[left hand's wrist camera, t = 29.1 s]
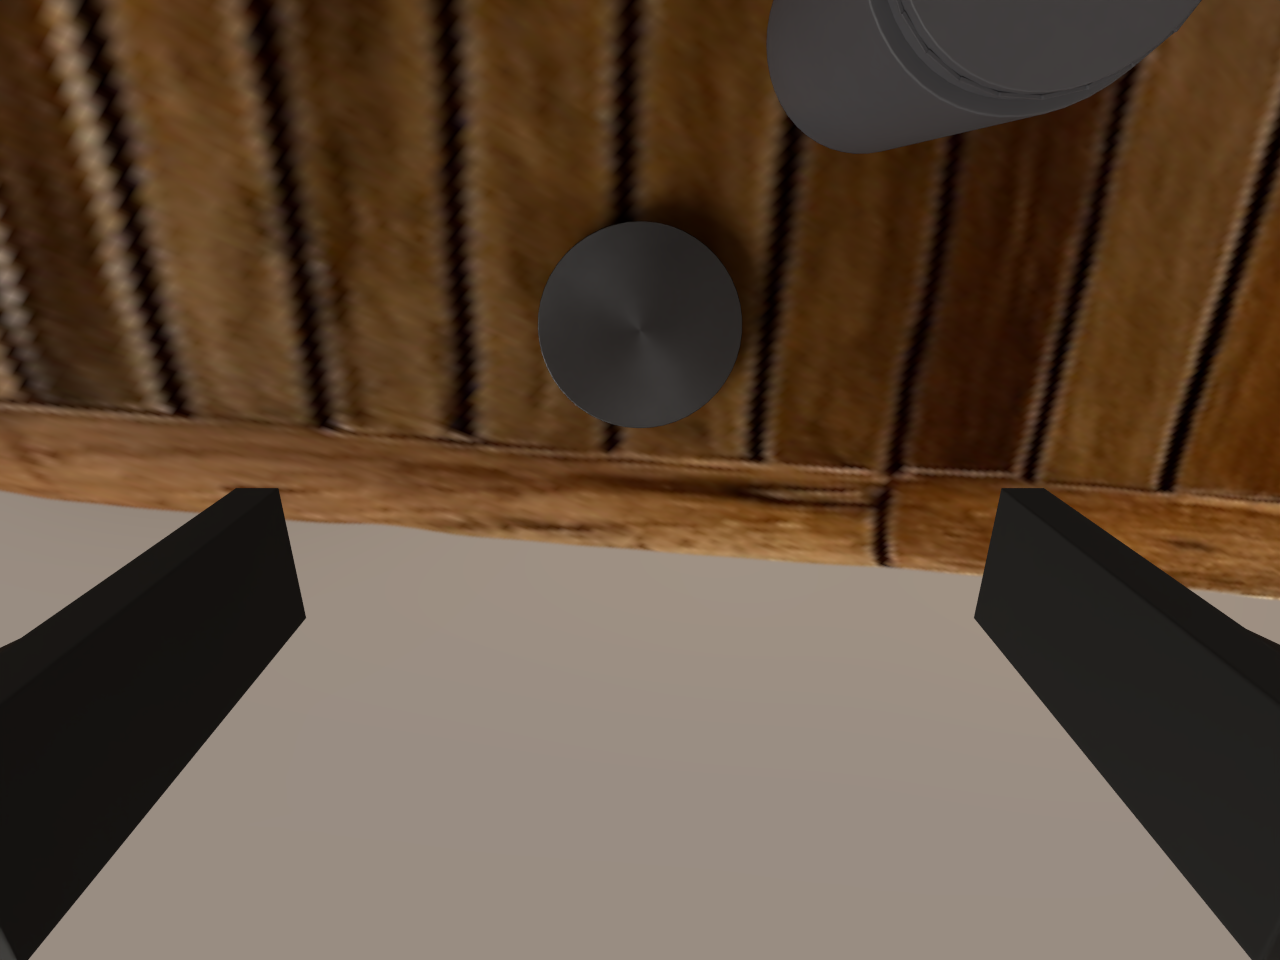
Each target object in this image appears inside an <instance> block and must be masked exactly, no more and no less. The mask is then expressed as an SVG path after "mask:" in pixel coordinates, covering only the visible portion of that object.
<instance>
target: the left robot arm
mask: <svg viewBox="0 0 1280 960" xmlns="http://www.w3.org/2000/svg"><path fill="white" fill-rule="evenodd" d="M305 618H306V616H305V611H304V606H303V602H302V597H301V592H300V587H299V583H298V578H297V574H296V569H295V564H294V559H293V555H292V550H291V545H290V541H289V536H288V531H287V527H286V522H285V517H284V513H283V508H282V503H281V499H280V494H279V489H278V488H236V489H234V490H233V491H231V492H230V493H229V494H227V495H226V496H224V497H223V498H221V499H220V500H219V501H217V502H216V503H214V504H213V505H211V506H210V507H208V508H207V509H206V510H204V511H203V512H201V513H200V514H198V515H197V516H196V517H194V518H193V519H191V520H190V521H188V522H187V523H186V524H184V525H183V526H181V527H180V528H178V529H177V530H175V531H174V532H173V533H171V534H170V535H168V536H167V537H165V538H164V539H163V540H161V541H160V542H158V543H157V544H155V545H154V546H152V547H151V548H150V549H148V550H147V551H145V552H144V553H142V554H141V555H140V556H138V557H137V558H135V559H134V560H132V561H131V562H130V563H128V564H127V565H125V566H124V567H122V568H121V569H119V570H118V571H117V572H115V573H114V574H112V575H111V576H109V577H108V578H107V579H105V580H104V581H102V582H101V583H99V584H98V585H97V586H95V587H94V588H92V589H91V590H89V591H88V592H86V593H85V594H84V595H82V596H81V597H79V598H78V599H76V600H75V601H73V602H72V603H71V604H69V605H68V606H66V607H65V608H63V609H62V610H61V611H59V612H58V613H56V614H55V615H53V616H52V617H51V618H49V619H48V620H46V621H45V622H43V623H42V624H40V625H39V626H38V627H36V628H35V629H33V630H32V631H30V632H29V633H28V634H26V635H25V636H23V637H22V638H20V639H18V640H16V641H14V642H12V643H9V644H7V645H5V646H3V647H1V648H0V960H28V959H29V958H30V957H31V956H32V954H33V953H34V952H35V951H36V949H37V948H38V947H39V946H40V945H41V943H42V942H43V941H44V940H45V938H46V937H47V936H48V935H49V933H50V932H51V931H52V930H53V928H54V927H55V926H56V925H57V924H58V922H59V921H60V920H61V919H62V917H63V916H64V915H65V914H66V913H67V911H68V910H69V909H70V908H71V906H72V905H73V904H74V903H75V901H76V900H77V899H78V898H79V897H80V895H81V894H82V893H83V892H84V890H85V889H86V888H87V887H88V885H89V884H90V883H91V882H92V881H93V879H94V878H95V877H96V876H97V874H98V873H99V872H100V871H101V869H102V868H103V867H104V866H105V865H106V863H107V862H108V861H109V860H110V858H111V857H112V856H113V855H114V853H115V852H116V851H117V850H118V849H119V847H120V846H121V845H122V844H123V842H124V841H125V840H126V839H127V837H128V836H129V835H130V834H131V833H132V831H133V830H134V829H135V828H136V826H137V825H138V824H139V823H140V822H141V820H142V819H143V818H144V817H145V815H146V814H147V813H148V812H149V810H150V809H151V808H152V807H153V805H154V804H155V803H156V802H157V801H158V799H159V798H160V797H161V796H162V794H163V793H164V792H165V791H166V790H167V788H168V787H169V786H170V785H171V783H172V782H173V781H174V780H175V778H176V777H177V776H178V775H179V774H180V772H181V771H182V770H183V769H184V767H185V766H186V765H187V764H188V762H189V761H190V760H191V759H192V758H193V756H194V755H195V754H196V753H197V751H198V750H199V749H200V748H201V746H202V745H203V744H204V743H205V742H206V740H207V739H208V738H209V737H210V735H211V734H212V733H213V732H214V730H215V729H216V728H217V727H218V726H219V724H220V723H221V722H222V721H223V719H224V718H225V717H226V716H227V714H228V713H229V712H230V711H231V710H232V708H233V707H234V706H235V705H236V703H237V702H238V701H239V700H240V698H241V697H242V696H243V695H244V694H245V692H246V691H247V690H248V689H249V687H250V686H251V685H252V684H253V682H254V681H255V680H256V679H257V678H258V676H259V675H260V674H261V673H262V671H263V670H264V669H265V668H266V666H267V665H268V664H269V663H270V662H271V660H272V659H273V658H274V657H275V655H276V654H277V653H278V652H279V650H280V649H281V648H282V647H283V646H284V644H285V643H286V642H287V641H288V639H289V638H290V637H291V636H292V634H293V633H294V632H295V631H296V630H297V628H298V627H299V626H300V625H301V623H302V622H303V621H304V620H305ZM974 618H975V620H976V621H977V622H978V623H979V625H980V626H981V627H982V628H983V630H984V631H985V632H986V633H987V634H988V636H989V637H990V638H991V639H992V641H993V642H994V643H995V644H996V646H997V647H998V648H999V649H1000V650H1001V652H1002V653H1003V654H1004V655H1005V657H1006V658H1007V659H1008V660H1009V662H1010V663H1011V664H1012V665H1013V666H1014V668H1015V669H1016V670H1017V671H1018V673H1019V674H1020V675H1021V676H1022V678H1023V679H1024V680H1025V681H1026V682H1027V684H1028V685H1029V686H1030V687H1031V689H1032V690H1033V691H1034V692H1035V694H1036V695H1037V696H1038V697H1039V698H1040V700H1041V701H1042V702H1043V703H1044V705H1045V706H1046V707H1047V708H1048V709H1049V711H1050V712H1051V713H1052V714H1053V716H1054V717H1055V718H1056V719H1057V721H1058V722H1059V723H1060V724H1061V726H1062V727H1063V728H1064V729H1065V730H1066V732H1067V733H1068V734H1069V735H1070V737H1071V738H1072V739H1073V740H1074V741H1075V743H1076V744H1077V745H1078V746H1079V748H1080V749H1081V750H1082V751H1083V753H1084V754H1085V755H1086V756H1087V757H1088V759H1089V760H1090V761H1091V762H1092V764H1093V765H1094V766H1095V767H1096V769H1097V770H1098V771H1099V772H1100V773H1101V775H1102V776H1103V777H1104V778H1105V780H1106V781H1107V782H1108V783H1109V785H1110V786H1111V787H1112V788H1113V790H1114V791H1115V792H1116V793H1117V794H1118V796H1119V797H1120V798H1121V799H1122V801H1123V802H1124V803H1125V804H1126V806H1127V807H1128V808H1129V809H1130V810H1131V812H1132V813H1133V814H1134V815H1135V817H1136V818H1137V819H1138V820H1139V821H1140V823H1141V824H1142V825H1143V826H1144V828H1145V829H1146V830H1147V831H1148V833H1149V834H1150V835H1151V836H1152V837H1153V839H1154V840H1155V841H1156V842H1157V844H1158V845H1159V846H1160V847H1161V849H1162V850H1163V851H1164V852H1165V853H1166V855H1167V856H1168V857H1169V858H1170V860H1171V861H1172V862H1173V863H1174V865H1175V866H1176V867H1177V868H1178V869H1179V871H1180V872H1181V873H1182V874H1183V876H1184V877H1185V878H1186V879H1187V881H1188V882H1189V883H1190V884H1191V885H1192V887H1193V888H1194V889H1195V890H1196V892H1197V893H1198V894H1199V895H1200V896H1201V898H1202V899H1203V900H1204V901H1205V903H1206V904H1207V905H1208V906H1209V908H1210V909H1211V910H1212V911H1213V912H1214V914H1215V915H1216V916H1217V917H1218V919H1219V920H1220V921H1221V922H1222V924H1223V925H1224V926H1225V927H1226V929H1227V930H1228V931H1229V932H1230V933H1231V935H1232V936H1233V937H1234V938H1235V940H1236V941H1237V942H1238V943H1239V945H1240V946H1241V947H1242V948H1243V949H1244V951H1245V952H1246V953H1247V954H1248V956H1249V957H1250V958H1251V959H1252V960H1280V645H1279V644H1277V643H1275V642H1273V641H1271V640H1268V639H1266V638H1264V637H1262V636H1260V635H1258V634H1256V633H1253V632H1251V631H1249V630H1247V629H1245V628H1244V627H1242V626H1241V625H1240V624H1238V623H1237V622H1235V621H1234V620H1232V619H1231V618H1229V617H1228V616H1227V615H1225V614H1224V613H1222V612H1221V611H1219V610H1218V609H1217V608H1215V607H1214V606H1212V605H1211V604H1209V603H1208V602H1206V601H1205V600H1204V599H1202V598H1201V597H1199V596H1198V595H1196V594H1195V593H1194V592H1192V591H1191V590H1189V589H1188V588H1186V587H1185V586H1184V585H1182V584H1181V583H1179V582H1178V581H1176V580H1175V579H1173V578H1172V577H1171V576H1169V575H1168V574H1166V573H1165V572H1163V571H1162V570H1161V569H1159V568H1158V567H1156V566H1155V565H1153V564H1152V563H1151V562H1149V561H1148V560H1146V559H1145V558H1143V557H1142V556H1140V555H1139V554H1138V553H1136V552H1135V551H1133V550H1132V549H1130V548H1129V547H1128V546H1126V545H1125V544H1123V543H1122V542H1120V541H1119V540H1117V539H1116V538H1115V537H1113V536H1112V535H1110V534H1109V533H1107V532H1106V531H1105V530H1103V529H1102V528H1100V527H1099V526H1097V525H1096V524H1095V523H1093V522H1092V521H1090V520H1089V519H1087V518H1086V517H1084V516H1083V515H1082V514H1080V513H1079V512H1077V511H1076V510H1074V509H1073V508H1072V507H1070V506H1069V505H1067V504H1066V503H1064V502H1063V501H1061V500H1060V499H1059V498H1057V497H1056V496H1054V495H1053V494H1051V493H1050V492H1049V491H1047V490H1046V489H1044V488H1002V489H1001V494H1000V499H999V503H998V508H997V513H996V517H995V522H994V527H993V531H992V536H991V541H990V545H989V550H988V555H987V559H986V564H985V569H984V573H983V578H982V583H981V587H980V592H979V597H978V602H977V606H976V611H975V616H974Z"/></svg>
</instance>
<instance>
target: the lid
mask: <svg viewBox="0 0 1280 960" xmlns="http://www.w3.org/2000/svg"><path fill="white" fill-rule="evenodd" d="M538 334H539V343H540V347H541V351H542V355H543V358H544V361H545V363H546V366H547V368H548V370H549V372H550V374H551V376H552V378H553V380H554V381H555V382H556V384H557V385H558V387H559V388H560V389H561V391H562V392H563V393H564V394H565V395H566V396H567V397H568V398H569V399H570V400H571V401H572V402H573V403H574V404H575V405H577V406H578V407H579V408H580V409H582V410H583V411H585V412H587V413H588V414H590V415H591V416H594V417H596V418H598V419H600V420H602V421H605V422H608V423H611V424H614V425H618V426H623V427H632V428H650V427H657V426H662V425H666V424H669V423H673V422H676V421H678V420H680V419H683V418H685V417H687V416H689V415H690V414H692V413H694V412H695V411H697V410H698V409H700V408H701V407H702V406H703V405H705V404H706V403H707V402H708V401H709V400H710V399H711V398H712V397H713V396H714V395H715V394H716V393H717V392H718V391H719V389H720V388H721V387H722V386H723V384H724V383H725V381H726V380H727V378H728V376H729V374H730V373H731V371H732V369H733V366H734V364H735V361H736V359H737V355H738V352H739V348H740V343H741V336H742V314H741V306H740V301H739V298H738V294H737V291H736V288H735V286H734V283H733V281H732V279H731V277H730V275H729V273H728V272H727V270H726V268H725V266H724V265H723V264H722V263H721V261H720V260H719V259H718V257H717V256H716V255H715V254H714V253H713V252H712V251H711V250H710V249H709V248H708V247H707V246H706V245H704V244H703V243H702V242H700V241H699V240H698V239H696V238H695V237H693V236H691V235H690V234H688V233H686V232H684V231H682V230H680V229H678V228H675V227H672V226H670V225H666V224H662V223H658V222H651V221H628V222H623V223H618V224H614V225H611V226H608V227H605V228H602V229H600V230H598V231H596V232H594V233H592V234H590V235H588V236H587V237H585V238H584V239H583V240H581V241H580V242H578V243H577V244H576V245H575V246H574V247H572V248H571V249H570V250H569V251H568V252H567V253H566V254H565V255H564V257H563V258H562V259H561V260H560V261H559V263H558V264H557V265H556V267H555V269H554V270H553V272H552V273H551V275H550V277H549V279H548V281H547V284H546V286H545V288H544V291H543V295H542V298H541V301H540V308H539V314H538Z"/></svg>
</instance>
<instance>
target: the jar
mask: <svg viewBox="0 0 1280 960" xmlns="http://www.w3.org/2000/svg"><path fill="white" fill-rule="evenodd" d="M1200 2H1201V0H774V1H773V4H772V8H771V11H770V16H769V23H768V29H767V60H768V66H769V72H770V77H771V80H772V84H773V87H774V90H775V93H776V95H777V97H778V99H779V101H780V104H781V105H782V107H783V108H784V110H785V112H786V113H787V115H788V116H789V118H790V119H791V120H792V121H793V122H794V124H795V125H796V126H797V127H798V128H799V129H800V130H801V131H802V132H804V133H805V134H806V135H807V136H808V137H810V138H811V139H813V140H814V141H816V142H818V143H820V144H822V145H824V146H826V147H828V148H831V149H834V150H838V151H841V152H847V153H855V154H856V153H873V152H880V151H885V150H889V149H893V148H898V147H902V146H906V145H911V144H915V143H919V142H924V141H928V140H932V139H937V138H941V137H945V136H950V135H954V134H958V133H963V132H967V131H971V130H976V129H980V128H984V127H989V126H993V125H997V124H1002V123H1006V122H1010V121H1015V120H1019V119H1023V118H1028V117H1032V116H1036V115H1041V114H1045V113H1048V112H1051V111H1055V110H1058V109H1062V108H1065V107H1067V106H1070V105H1072V104H1074V103H1077V102H1079V101H1081V100H1083V99H1086V98H1088V97H1090V96H1091V95H1093V94H1095V93H1096V92H1098V91H1100V90H1102V89H1103V88H1105V87H1107V86H1108V85H1110V84H1111V83H1113V82H1114V81H1115V80H1117V79H1118V78H1119V77H1121V76H1122V75H1123V74H1125V73H1126V72H1127V71H1129V70H1130V69H1131V68H1132V67H1134V66H1135V65H1136V64H1137V63H1139V62H1140V61H1141V60H1142V59H1143V58H1145V57H1146V56H1147V55H1148V54H1149V53H1151V52H1152V51H1153V50H1154V49H1155V48H1156V47H1158V46H1159V45H1160V44H1161V43H1162V42H1164V41H1165V40H1166V39H1167V38H1168V37H1169V36H1171V35H1172V34H1173V33H1174V32H1177V31H1178V30H1179V28H1180V27H1181V26H1182V24H1183V23H1184V22H1185V21H1186V19H1187V18H1188V17H1189V16H1190V14H1191V13H1192V12H1193V11H1194V9H1195V8H1196V7H1197V5H1198V4H1199V3H1200Z"/></svg>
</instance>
